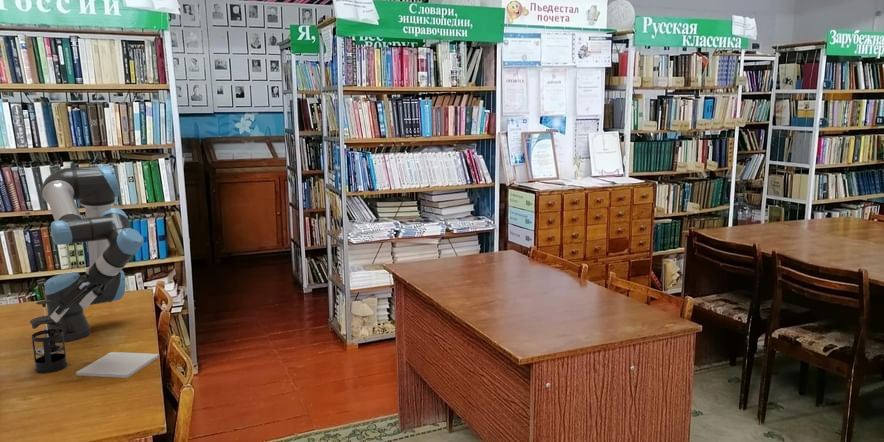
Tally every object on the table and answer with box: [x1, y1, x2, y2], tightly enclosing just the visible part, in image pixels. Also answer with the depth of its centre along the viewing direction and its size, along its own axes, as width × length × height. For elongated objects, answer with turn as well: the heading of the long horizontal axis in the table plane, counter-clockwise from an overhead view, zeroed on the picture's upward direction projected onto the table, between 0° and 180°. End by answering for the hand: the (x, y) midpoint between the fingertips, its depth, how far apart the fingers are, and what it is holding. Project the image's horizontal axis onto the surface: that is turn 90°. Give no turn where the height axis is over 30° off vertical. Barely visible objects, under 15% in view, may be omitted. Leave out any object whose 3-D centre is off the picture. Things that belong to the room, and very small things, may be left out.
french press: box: [29, 299, 69, 374], centre depth 217 cm, size 12×9×23 cm
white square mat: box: [75, 351, 160, 379], centre depth 219 cm, size 18×18×1 cm
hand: (68, 312), depth 214 cm, fingers open, 13 cm apart
